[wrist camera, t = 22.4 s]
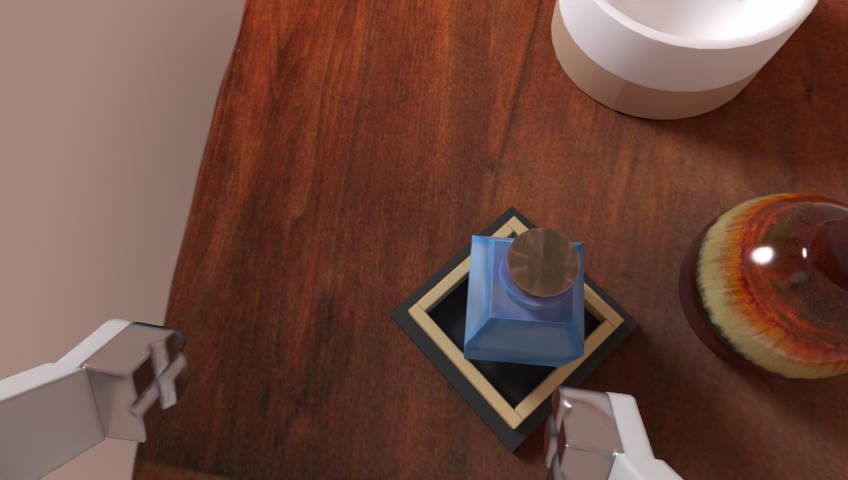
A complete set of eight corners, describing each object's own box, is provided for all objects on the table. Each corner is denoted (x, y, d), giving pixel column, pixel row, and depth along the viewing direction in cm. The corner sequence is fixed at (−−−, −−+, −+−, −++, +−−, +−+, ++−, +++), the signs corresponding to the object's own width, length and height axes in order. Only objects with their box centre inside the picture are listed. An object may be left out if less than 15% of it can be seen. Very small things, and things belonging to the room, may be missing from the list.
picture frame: (510, 452, 33) (514, 454, 31) (391, 316, 36) (386, 309, 34) (634, 327, 35) (647, 321, 33) (510, 210, 39) (514, 197, 36)
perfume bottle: (561, 367, 32) (617, 338, 21) (463, 358, 33) (467, 326, 21) (561, 273, 34) (613, 200, 23) (469, 266, 35) (476, 192, 24)
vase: (760, 204, 38) (952, 68, 23) (865, 341, 34) (1170, 282, 19) (629, 266, 37) (743, 165, 22) (723, 414, 33) (933, 410, 19)
